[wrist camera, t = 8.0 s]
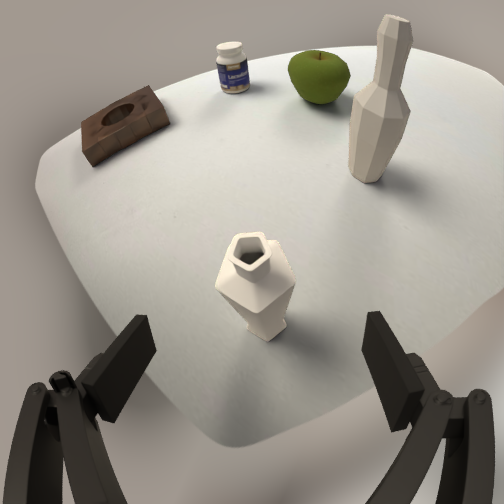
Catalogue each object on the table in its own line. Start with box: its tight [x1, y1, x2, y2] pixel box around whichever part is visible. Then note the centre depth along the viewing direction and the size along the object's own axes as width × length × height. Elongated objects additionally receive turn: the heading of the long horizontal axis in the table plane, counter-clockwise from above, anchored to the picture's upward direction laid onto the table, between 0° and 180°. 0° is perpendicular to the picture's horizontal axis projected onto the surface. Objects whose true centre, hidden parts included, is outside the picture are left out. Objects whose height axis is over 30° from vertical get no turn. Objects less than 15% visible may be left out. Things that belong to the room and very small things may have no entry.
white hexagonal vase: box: [215, 232, 296, 341], centre depth 20 cm, size 5×4×15 cm
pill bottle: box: [216, 42, 250, 93], centre depth 43 cm, size 6×6×10 cm
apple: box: [288, 50, 351, 104], centre depth 39 cm, size 11×10×10 cm
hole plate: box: [81, 85, 170, 167], centre depth 44 cm, size 16×13×4 cm
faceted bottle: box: [348, 14, 413, 183], centre depth 25 cm, size 6×6×22 cm
